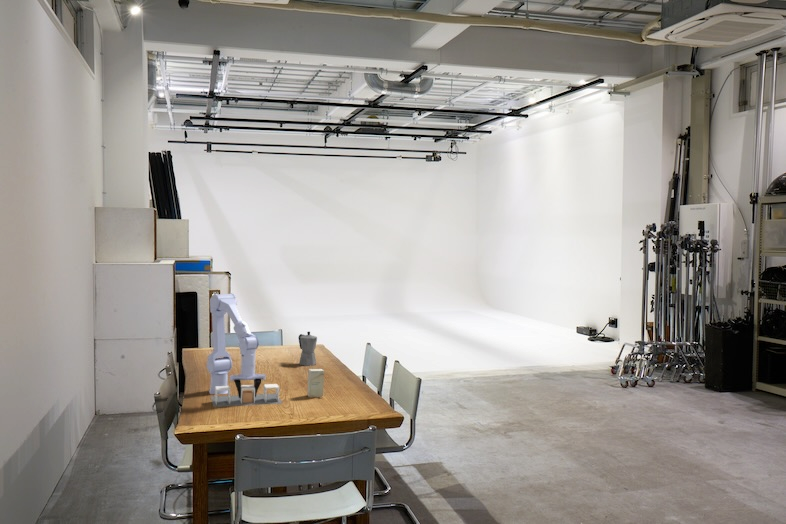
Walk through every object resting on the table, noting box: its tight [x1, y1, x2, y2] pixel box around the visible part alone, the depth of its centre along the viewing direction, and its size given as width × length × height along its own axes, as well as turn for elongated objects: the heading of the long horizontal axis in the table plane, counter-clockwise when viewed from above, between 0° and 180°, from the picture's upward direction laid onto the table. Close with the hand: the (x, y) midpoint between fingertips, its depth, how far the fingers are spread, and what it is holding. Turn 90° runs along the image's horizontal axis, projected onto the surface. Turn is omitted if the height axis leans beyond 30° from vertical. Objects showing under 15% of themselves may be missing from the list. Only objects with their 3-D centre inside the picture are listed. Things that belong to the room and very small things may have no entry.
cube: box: [242, 390, 253, 403], centre depth 277 cm, size 4×4×4 cm
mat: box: [210, 393, 283, 408], centre depth 280 cm, size 17×28×1 cm, turn 109°
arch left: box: [214, 385, 231, 405], centre depth 274 cm, size 6×6×6 cm
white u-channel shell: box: [239, 384, 255, 404], centre depth 277 cm, size 6×6×6 cm
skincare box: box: [307, 368, 325, 398], centre depth 291 cm, size 6×4×12 cm
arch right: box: [263, 383, 280, 402], centre depth 280 cm, size 6×6×6 cm
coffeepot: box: [298, 331, 318, 367], centre depth 362 cm, size 15×9×18 cm, turn 44°
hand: (247, 397), depth 277 cm, fingers closed on white u-channel shell, 6 cm apart
